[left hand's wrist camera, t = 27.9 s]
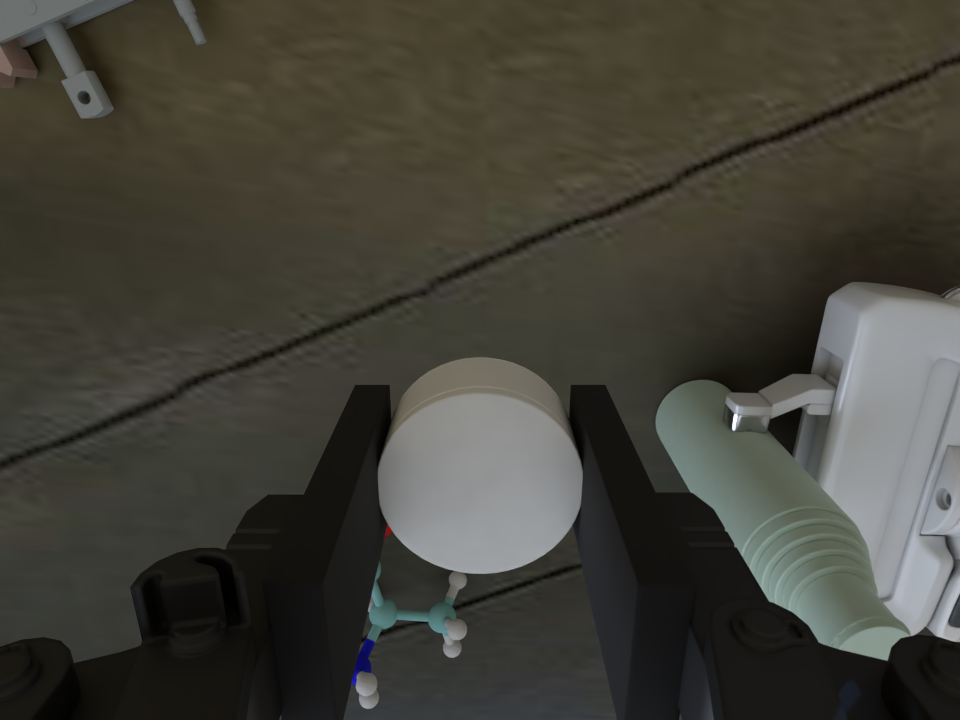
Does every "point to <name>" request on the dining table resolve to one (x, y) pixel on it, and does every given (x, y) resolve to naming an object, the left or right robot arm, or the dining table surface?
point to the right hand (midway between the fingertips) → (717, 468)
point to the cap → (480, 467)
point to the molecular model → (387, 614)
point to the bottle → (779, 522)
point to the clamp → (63, 44)
